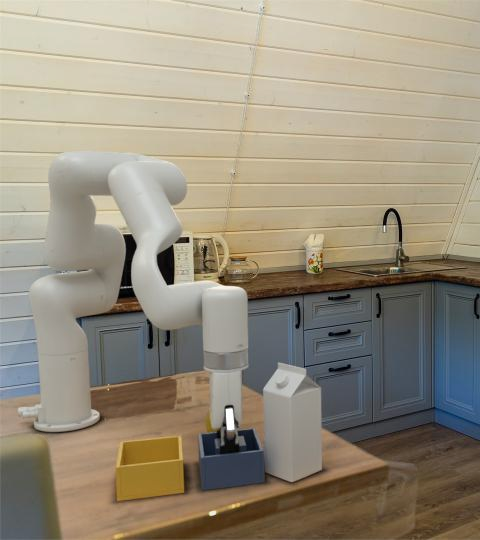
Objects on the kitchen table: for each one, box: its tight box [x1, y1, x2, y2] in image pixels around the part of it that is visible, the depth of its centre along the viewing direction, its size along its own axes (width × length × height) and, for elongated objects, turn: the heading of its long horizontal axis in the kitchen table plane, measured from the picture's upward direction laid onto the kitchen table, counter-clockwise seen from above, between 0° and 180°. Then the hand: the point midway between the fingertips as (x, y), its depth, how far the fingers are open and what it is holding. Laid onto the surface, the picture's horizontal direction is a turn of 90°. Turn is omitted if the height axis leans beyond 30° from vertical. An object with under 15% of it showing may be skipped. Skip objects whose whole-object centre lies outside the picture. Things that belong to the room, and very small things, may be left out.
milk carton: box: [262, 362, 323, 483], centre depth 126 cm, size 7×7×19 cm
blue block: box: [214, 436, 246, 455], centre depth 126 cm, size 5×5×5 cm
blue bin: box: [197, 427, 266, 491], centre depth 126 cm, size 10×12×6 cm
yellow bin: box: [115, 435, 185, 502], centre depth 122 cm, size 10×12×6 cm
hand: (228, 458), depth 126 cm, fingers open, 6 cm apart
